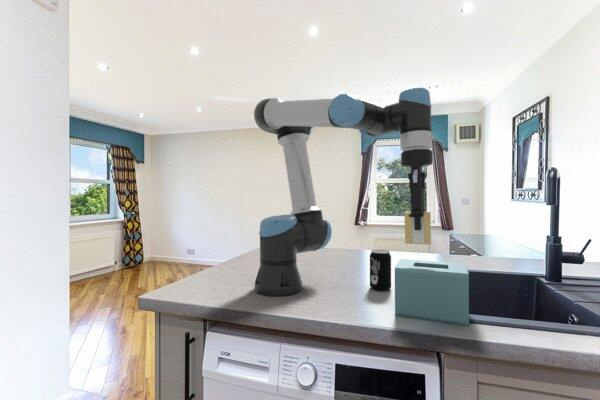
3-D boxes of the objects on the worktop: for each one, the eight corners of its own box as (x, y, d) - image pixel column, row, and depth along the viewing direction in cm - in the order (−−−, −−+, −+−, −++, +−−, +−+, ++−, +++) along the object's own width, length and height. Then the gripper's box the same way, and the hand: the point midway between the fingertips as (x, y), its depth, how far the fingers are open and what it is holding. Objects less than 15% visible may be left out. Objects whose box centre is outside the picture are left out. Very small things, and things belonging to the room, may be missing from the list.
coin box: (394, 315, 76) (394, 267, 76) (400, 300, 87) (400, 258, 87) (468, 326, 70) (468, 273, 69) (465, 308, 80) (464, 263, 80)
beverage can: (392, 292, 95) (391, 253, 95) (370, 291, 97) (369, 252, 96) (390, 286, 102) (390, 249, 102) (369, 285, 103) (369, 249, 103)
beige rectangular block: (405, 243, 79) (404, 212, 79) (406, 242, 82) (405, 211, 82) (430, 244, 76) (429, 212, 77) (431, 243, 79) (430, 211, 79)
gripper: (430, 143, 71) (434, 247, 70) (433, 153, 85) (436, 239, 85) (396, 147, 74) (399, 245, 73) (404, 156, 88) (407, 238, 88)
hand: (419, 242), depth 79 cm, fingers closed on beige rectangular block, 3 cm apart
